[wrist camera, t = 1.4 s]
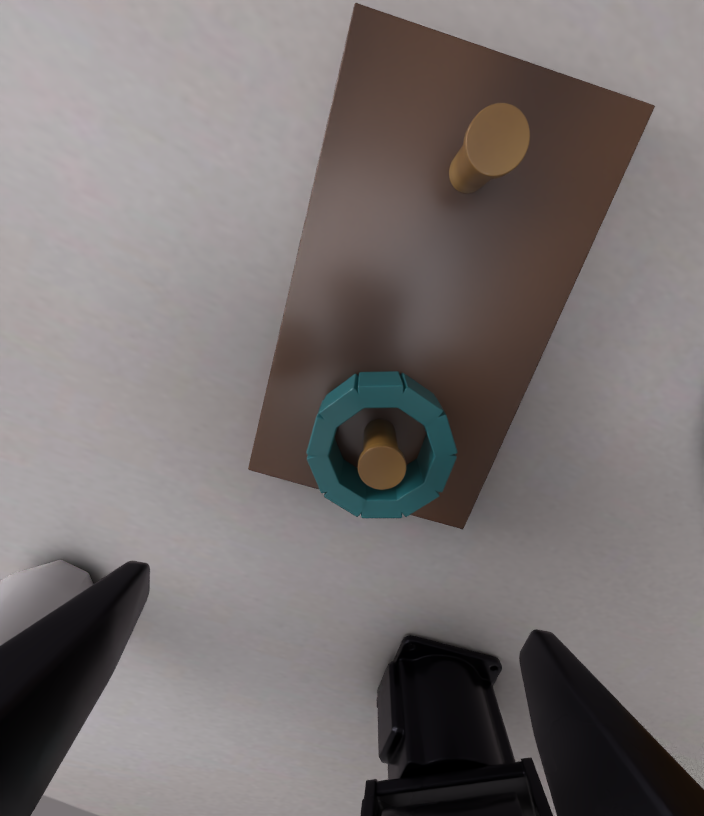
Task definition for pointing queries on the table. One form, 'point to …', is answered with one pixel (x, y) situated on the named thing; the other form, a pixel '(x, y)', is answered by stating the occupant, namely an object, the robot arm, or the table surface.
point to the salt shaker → (37, 594)
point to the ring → (421, 474)
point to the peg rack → (438, 246)
